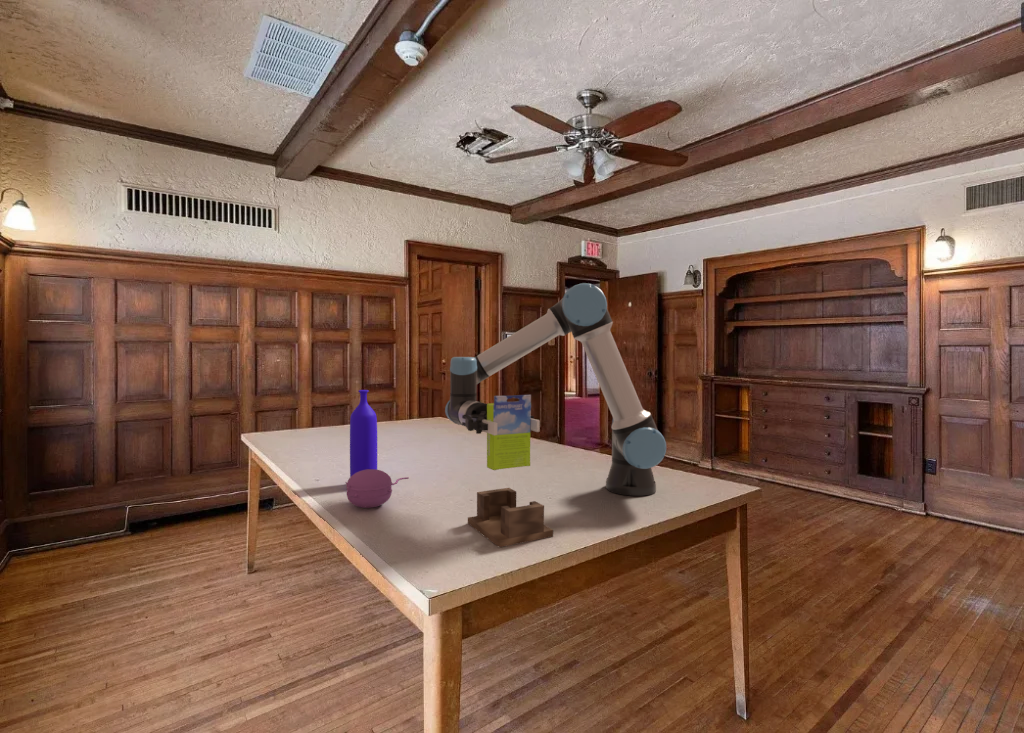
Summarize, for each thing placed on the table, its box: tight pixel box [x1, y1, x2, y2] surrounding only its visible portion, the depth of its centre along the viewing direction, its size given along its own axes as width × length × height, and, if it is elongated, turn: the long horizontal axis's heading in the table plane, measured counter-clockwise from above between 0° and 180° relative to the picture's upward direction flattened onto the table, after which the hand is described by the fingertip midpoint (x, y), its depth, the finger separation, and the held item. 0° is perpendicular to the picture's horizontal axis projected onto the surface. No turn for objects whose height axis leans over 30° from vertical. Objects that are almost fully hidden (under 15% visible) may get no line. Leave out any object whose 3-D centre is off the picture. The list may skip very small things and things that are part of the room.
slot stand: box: [467, 487, 554, 548], centre depth 121 cm, size 14×17×8 cm
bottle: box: [349, 389, 378, 478], centre depth 159 cm, size 8×8×30 cm
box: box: [486, 394, 532, 471], centre depth 120 cm, size 10×4×17 cm, turn 120°
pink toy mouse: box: [345, 469, 410, 509], centre depth 140 cm, size 12×19×10 cm, turn 120°
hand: (517, 427), depth 117 cm, fingers closed on box, 10 cm apart
